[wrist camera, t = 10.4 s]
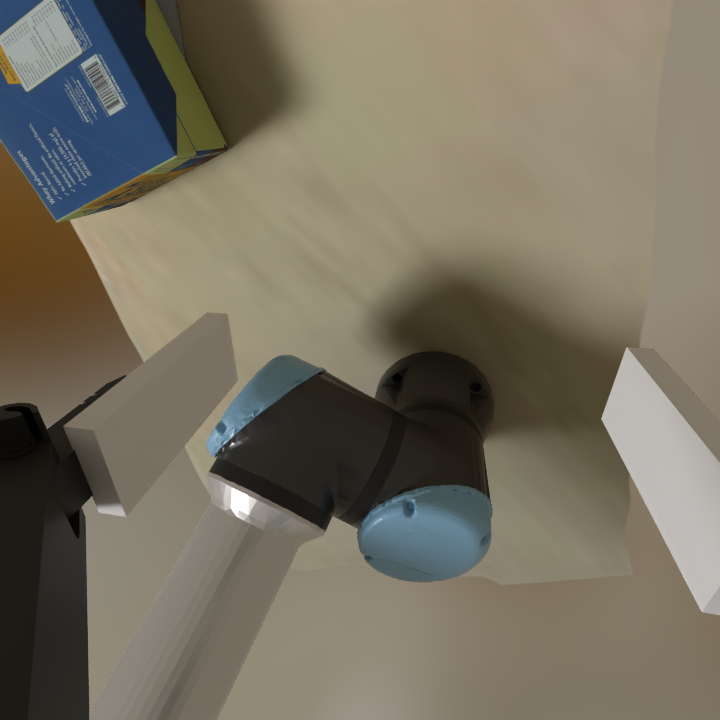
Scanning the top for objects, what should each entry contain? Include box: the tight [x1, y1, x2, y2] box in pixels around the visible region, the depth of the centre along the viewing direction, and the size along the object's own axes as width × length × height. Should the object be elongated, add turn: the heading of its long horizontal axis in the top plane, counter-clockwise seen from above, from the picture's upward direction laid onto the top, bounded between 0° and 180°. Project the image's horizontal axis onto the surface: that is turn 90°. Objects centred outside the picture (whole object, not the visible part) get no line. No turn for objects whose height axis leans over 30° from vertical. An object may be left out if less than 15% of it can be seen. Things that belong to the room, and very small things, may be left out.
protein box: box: [0, 0, 228, 222], centre depth 40 cm, size 10×15×16 cm
